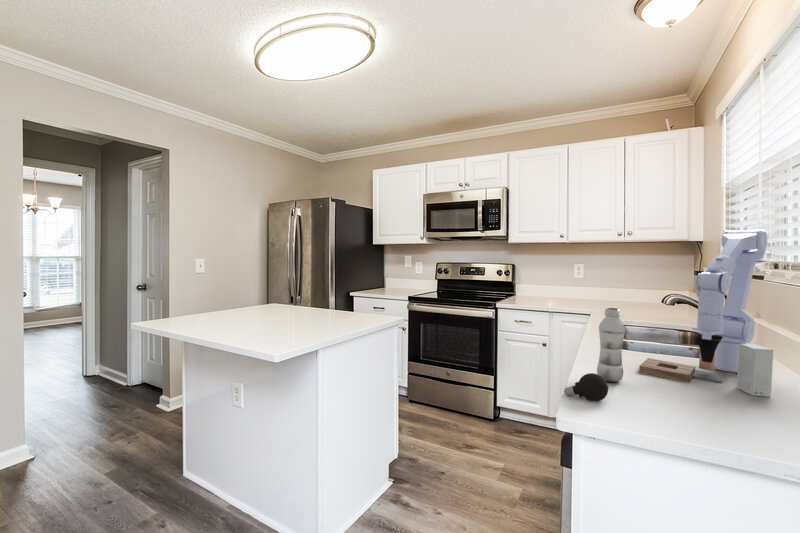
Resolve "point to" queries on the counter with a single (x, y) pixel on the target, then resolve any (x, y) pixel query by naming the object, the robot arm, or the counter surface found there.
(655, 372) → the walnut holder
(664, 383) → the counter surface
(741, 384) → the skincare box
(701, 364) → the peg
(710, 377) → the rubber pad
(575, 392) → the light bulb
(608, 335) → the plastic bottle
